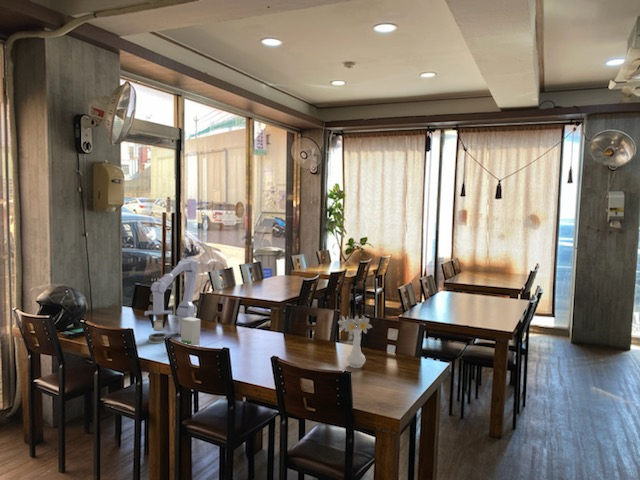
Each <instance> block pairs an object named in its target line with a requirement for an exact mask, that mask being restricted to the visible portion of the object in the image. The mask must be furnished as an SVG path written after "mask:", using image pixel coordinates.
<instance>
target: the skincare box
mask: <svg viewBox="0 0 640 480" xmlns="http://www.w3.org/2000/svg"><path fill="white" fill-rule="evenodd" d="M200 340H201V319H200V318H196V317H194V316H193V317H187V318H183V319H182V325H181V334H180V343H181V342H183V343H187V344H191V345H199V347H200V344H201V343H200Z"/></svg>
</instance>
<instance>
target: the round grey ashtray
mask: <svg viewBox="0 0 640 480" xmlns="http://www.w3.org/2000/svg"><path fill="white" fill-rule="evenodd" d="M164 337H168V338H169V334H168V333H164V332H156V333H151V334H149V336H148V340H147V342H148V343H150V344H163V343H165V342H164Z"/></svg>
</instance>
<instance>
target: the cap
mask: <svg viewBox="0 0 640 480" xmlns="http://www.w3.org/2000/svg"><path fill="white" fill-rule="evenodd" d="M153 331H154V332H163V331H164V328H163V320H162V319H157V320H154V328H153Z"/></svg>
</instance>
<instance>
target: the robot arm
mask: <svg viewBox="0 0 640 480" xmlns="http://www.w3.org/2000/svg"><path fill="white" fill-rule="evenodd" d="M182 272H184V273H186V275H187V278H186V283H185V289H184V292H183V293H184V294H183V298H182V301H181V302H179V304H178V307H177V309H176V312H175V313H176V316H177V317H178V321H179V323H178V325H179V327H178V335H181V325H182V319H183V318H187V317H193V318H194V317H195V313H196V312H195V311H196V310H195V307H196V306H195V304H194V303H193V299H194V294H195V289H196V283H197V279H198V273H199V263H198V261H197V260H196V259H189V258H188V259H186V258H182V259H180V261H178V264H177V265H176V266H175V267H174V268H173V269H172V270H171V271H170V273H165V274H163V276H162V277H161V278H160V279H158V280H157V281H154V282H153V283H152V284H151V287H150V291H151V292H152V295H153V296H152V310H146V311H144V316H147V317H148V319H149V321H150V323H151V328H152V329H154V321H155V320H154V318H155V317H154V316H159V315H161V316H163V317H162V318H163V329H165V326H166V322H167V320H168V317H169V316H172V315H173V310H165V292H166V291H167V288H168V287H169V285H171V283H173V282H174V279H175V277H176V276H178V275H179V274H180V273H182Z"/></svg>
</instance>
